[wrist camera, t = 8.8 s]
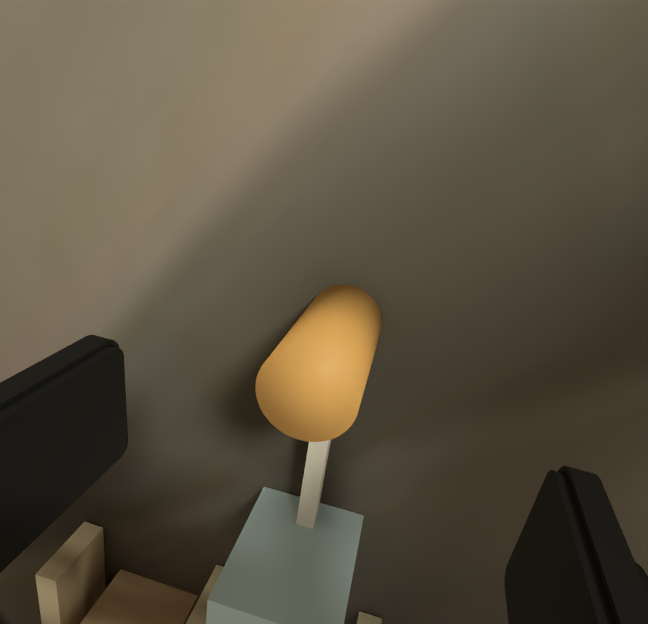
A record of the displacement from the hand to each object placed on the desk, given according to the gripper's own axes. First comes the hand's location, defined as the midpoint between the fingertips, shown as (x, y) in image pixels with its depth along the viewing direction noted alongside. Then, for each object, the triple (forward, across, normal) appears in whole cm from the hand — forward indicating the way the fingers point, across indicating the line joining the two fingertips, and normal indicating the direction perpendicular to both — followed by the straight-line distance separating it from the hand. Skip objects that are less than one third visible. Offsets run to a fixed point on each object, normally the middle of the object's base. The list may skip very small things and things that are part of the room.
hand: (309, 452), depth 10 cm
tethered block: (+9, +1, +7) cm, 11 cm away
